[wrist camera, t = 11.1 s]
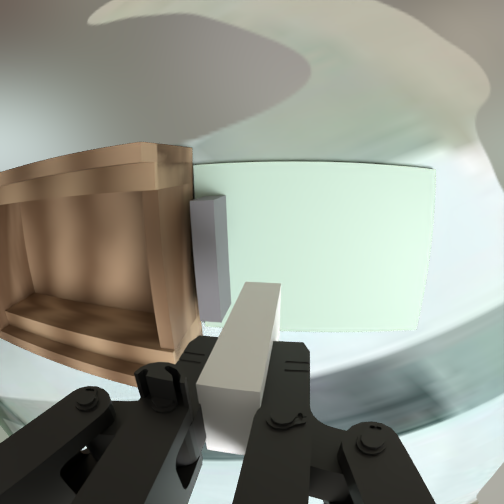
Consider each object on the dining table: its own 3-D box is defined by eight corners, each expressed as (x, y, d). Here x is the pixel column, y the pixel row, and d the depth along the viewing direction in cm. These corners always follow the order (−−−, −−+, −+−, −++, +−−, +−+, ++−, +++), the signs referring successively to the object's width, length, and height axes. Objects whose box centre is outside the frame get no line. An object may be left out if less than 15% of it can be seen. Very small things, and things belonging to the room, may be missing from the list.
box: (41, 308, 27) (-2, 337, 20) (19, 174, 23) (-34, 183, 16) (202, 338, 24) (170, 394, 17) (192, 148, 20) (141, 141, 13)
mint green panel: (208, 321, 24) (193, 346, 20) (197, 165, 21) (176, 165, 17) (413, 325, 21) (428, 350, 18) (431, 169, 18) (455, 170, 14)
